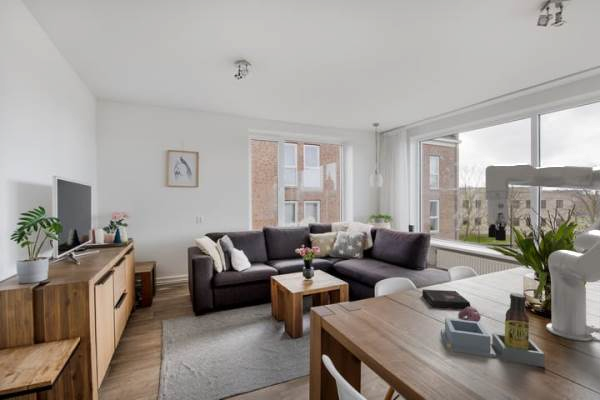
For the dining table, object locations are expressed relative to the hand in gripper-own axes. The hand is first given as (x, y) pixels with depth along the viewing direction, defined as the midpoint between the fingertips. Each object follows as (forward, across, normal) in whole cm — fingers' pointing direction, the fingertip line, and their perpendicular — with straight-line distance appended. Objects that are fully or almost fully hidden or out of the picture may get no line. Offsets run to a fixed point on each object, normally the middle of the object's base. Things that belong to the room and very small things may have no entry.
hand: (496, 238), depth 109 cm
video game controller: (+36, +4, +9) cm, 37 cm away
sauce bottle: (+36, -20, -1) cm, 41 cm away
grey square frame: (+36, -20, -1) cm, 41 cm away
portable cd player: (+36, +24, +15) cm, 47 cm away
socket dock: (+36, -18, +14) cm, 42 cm away
